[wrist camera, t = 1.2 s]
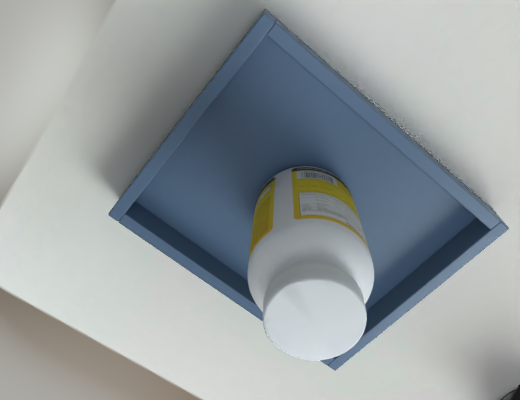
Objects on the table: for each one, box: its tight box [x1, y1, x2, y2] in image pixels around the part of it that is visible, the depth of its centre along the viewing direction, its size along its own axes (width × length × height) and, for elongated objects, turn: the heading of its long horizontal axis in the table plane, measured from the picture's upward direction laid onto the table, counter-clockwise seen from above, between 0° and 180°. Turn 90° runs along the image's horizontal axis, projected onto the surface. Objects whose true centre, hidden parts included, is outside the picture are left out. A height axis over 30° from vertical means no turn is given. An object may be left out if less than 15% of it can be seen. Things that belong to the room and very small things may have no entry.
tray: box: [109, 9, 509, 370], centre depth 32 cm, size 20×16×2 cm
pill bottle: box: [248, 166, 374, 361], centre depth 27 cm, size 6×6×12 cm
